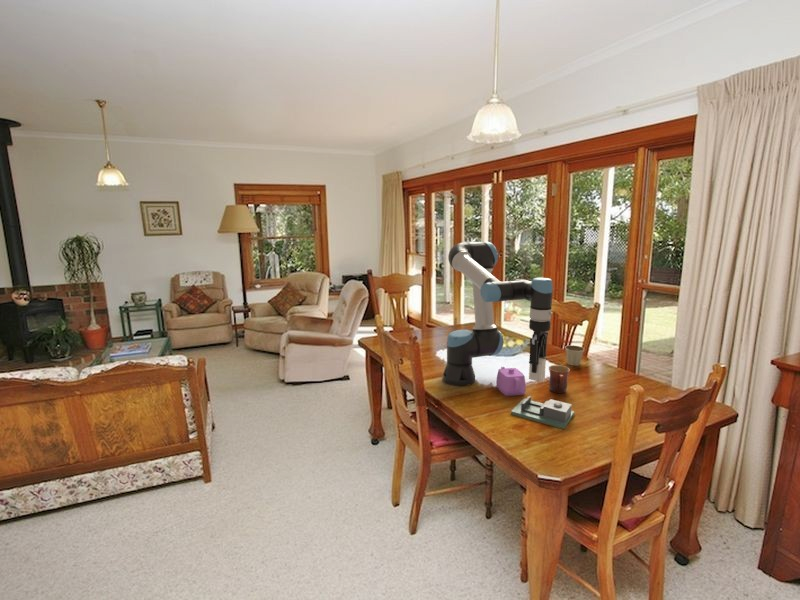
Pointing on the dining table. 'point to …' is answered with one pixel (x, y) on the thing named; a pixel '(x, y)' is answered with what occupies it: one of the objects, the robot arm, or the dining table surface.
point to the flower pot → (574, 354)
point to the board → (545, 412)
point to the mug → (558, 378)
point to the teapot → (511, 381)
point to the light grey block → (540, 368)
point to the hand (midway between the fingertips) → (536, 377)
